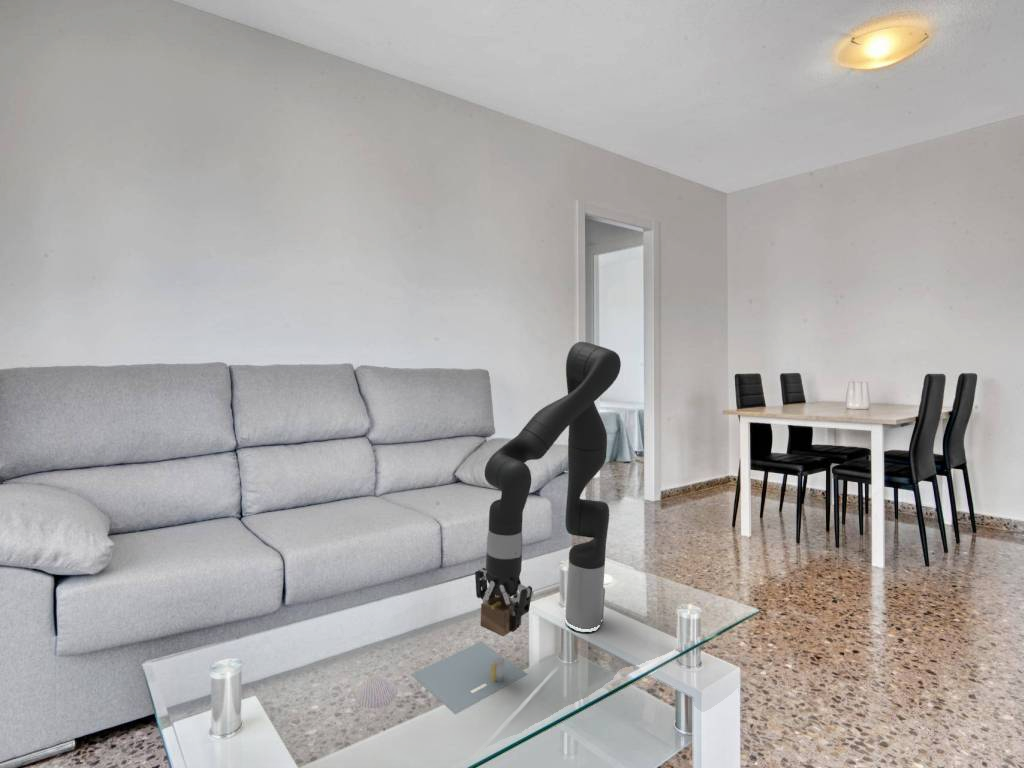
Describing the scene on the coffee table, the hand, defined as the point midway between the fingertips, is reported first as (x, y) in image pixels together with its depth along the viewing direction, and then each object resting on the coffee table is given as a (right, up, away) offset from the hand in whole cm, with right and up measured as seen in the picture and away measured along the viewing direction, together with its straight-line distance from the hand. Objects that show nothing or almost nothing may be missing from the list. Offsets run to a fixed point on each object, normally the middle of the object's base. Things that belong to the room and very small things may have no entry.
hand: (501, 624), depth 127 cm
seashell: (-26, -14, -5) cm, 30 cm away
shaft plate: (-7, -13, +3) cm, 15 cm away
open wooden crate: (0, 0, 0) cm, 0 cm away
